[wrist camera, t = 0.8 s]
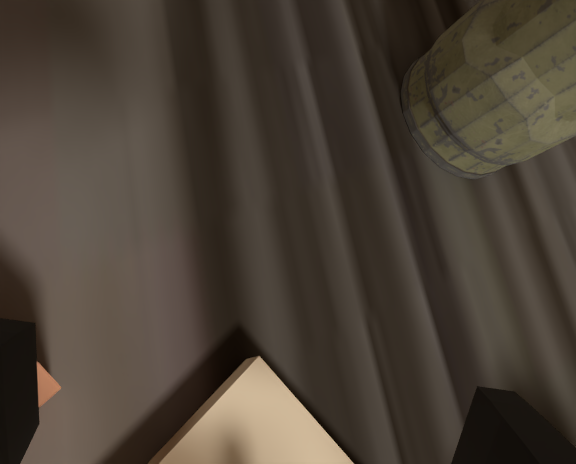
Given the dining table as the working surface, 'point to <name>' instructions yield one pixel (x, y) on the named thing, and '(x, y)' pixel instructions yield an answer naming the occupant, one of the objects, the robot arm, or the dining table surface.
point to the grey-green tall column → (495, 86)
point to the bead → (45, 385)
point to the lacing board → (251, 426)
